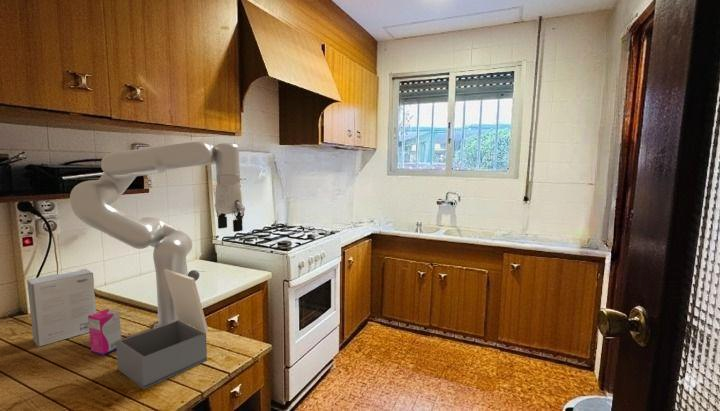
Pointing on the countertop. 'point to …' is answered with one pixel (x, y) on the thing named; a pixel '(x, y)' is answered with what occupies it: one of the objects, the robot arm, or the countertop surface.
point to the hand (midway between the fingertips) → (230, 229)
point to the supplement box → (104, 331)
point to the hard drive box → (61, 305)
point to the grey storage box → (161, 353)
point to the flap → (186, 298)
